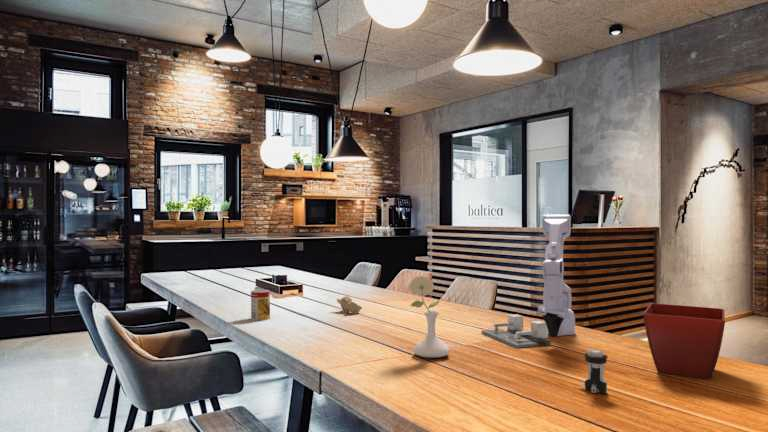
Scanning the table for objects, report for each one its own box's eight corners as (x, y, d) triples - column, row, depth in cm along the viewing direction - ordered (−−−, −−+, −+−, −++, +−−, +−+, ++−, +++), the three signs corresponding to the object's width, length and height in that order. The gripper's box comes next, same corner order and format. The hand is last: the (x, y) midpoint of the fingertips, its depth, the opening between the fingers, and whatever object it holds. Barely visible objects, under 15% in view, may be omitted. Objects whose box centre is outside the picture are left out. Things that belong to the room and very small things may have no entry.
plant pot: (725, 385, 137) (725, 319, 137) (643, 374, 147) (642, 312, 147) (725, 367, 153) (724, 308, 153) (650, 358, 164) (650, 303, 164)
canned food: (273, 318, 233) (273, 290, 233) (260, 321, 226) (260, 292, 226) (260, 316, 237) (260, 289, 237) (247, 319, 230) (247, 291, 230)
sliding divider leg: (540, 335, 188) (540, 320, 188) (547, 338, 184) (547, 322, 184) (513, 338, 185) (513, 322, 185) (519, 340, 181) (519, 325, 181)
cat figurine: (351, 301, 238) (337, 291, 247) (344, 316, 238) (331, 305, 247) (364, 305, 243) (350, 294, 252) (358, 319, 244) (344, 308, 253)
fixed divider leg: (517, 327, 202) (517, 314, 202) (523, 329, 199) (523, 316, 199) (491, 329, 199) (491, 316, 199) (496, 331, 195) (496, 318, 195)
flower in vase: (453, 352, 172) (452, 274, 172) (445, 362, 161) (444, 278, 161) (413, 349, 176) (413, 273, 176) (403, 358, 165) (403, 277, 165)
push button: (575, 390, 134) (575, 350, 134) (584, 385, 138) (583, 346, 138) (603, 396, 129) (602, 355, 129) (610, 391, 133) (610, 351, 133)
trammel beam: (512, 330, 204) (512, 326, 204) (550, 344, 181) (550, 340, 181) (507, 331, 203) (507, 327, 203) (545, 345, 181) (545, 340, 181)
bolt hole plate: (500, 331, 202) (500, 328, 202) (537, 346, 180) (537, 342, 180) (481, 333, 200) (481, 330, 200) (517, 348, 177) (517, 344, 177)
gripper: (530, 293, 184) (530, 333, 184) (556, 299, 170) (556, 342, 170) (547, 292, 186) (548, 331, 186) (575, 298, 172) (575, 340, 172)
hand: (553, 336), depth 178 cm, fingers closed
